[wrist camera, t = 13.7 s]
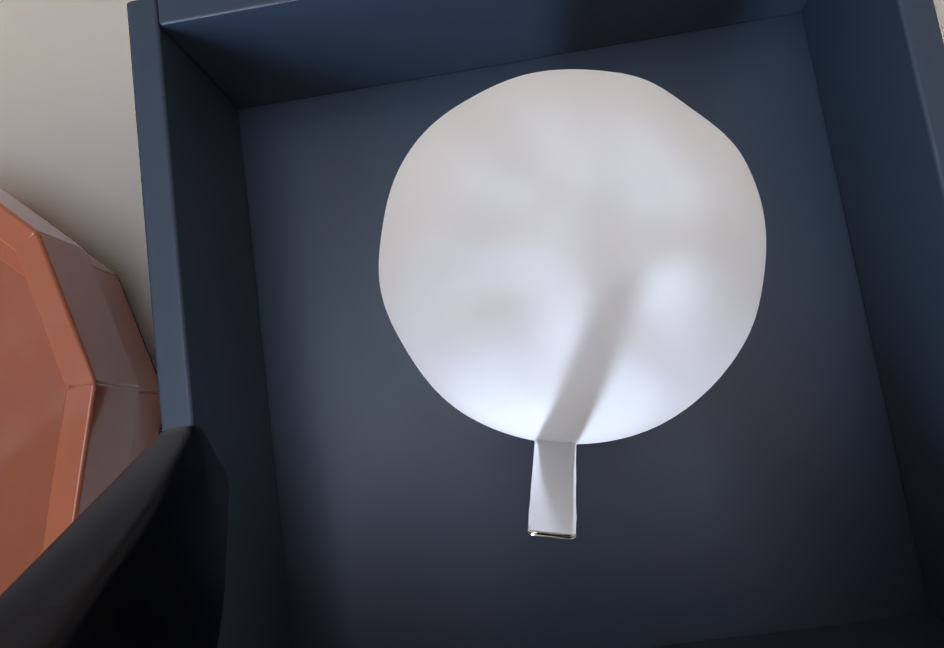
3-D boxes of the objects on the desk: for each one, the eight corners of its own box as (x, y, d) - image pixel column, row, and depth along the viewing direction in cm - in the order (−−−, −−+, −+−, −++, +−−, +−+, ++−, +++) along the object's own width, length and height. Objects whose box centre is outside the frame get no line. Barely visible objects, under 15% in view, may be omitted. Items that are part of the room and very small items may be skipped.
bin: (281, 714, 17) (191, 810, 13) (220, 99, 19) (124, 1, 15) (953, 633, 16) (1105, 708, 12) (815, -5, 19) (900, -143, 14)
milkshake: (440, 466, 17) (304, 511, 7) (463, 224, 18) (366, -28, 8) (654, 487, 17) (809, 566, 7) (670, 239, 18) (832, -11, 8)
